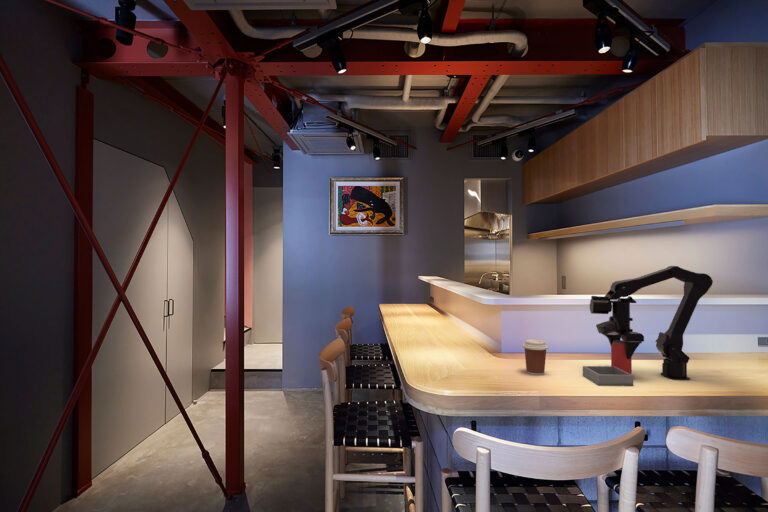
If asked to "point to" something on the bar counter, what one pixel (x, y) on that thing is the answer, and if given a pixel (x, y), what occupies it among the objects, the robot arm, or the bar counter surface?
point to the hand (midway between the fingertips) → (621, 356)
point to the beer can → (620, 357)
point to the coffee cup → (535, 356)
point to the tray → (607, 376)
